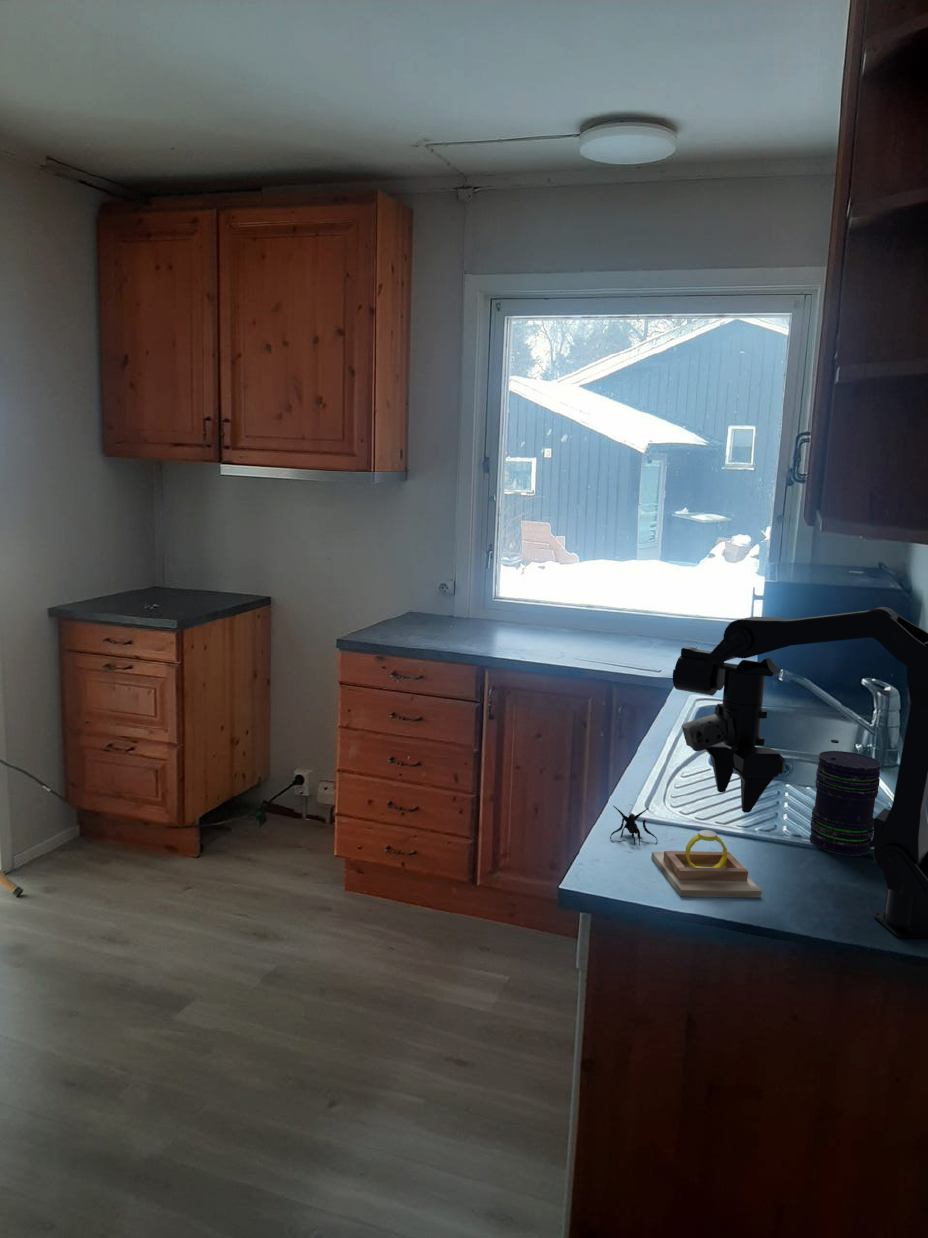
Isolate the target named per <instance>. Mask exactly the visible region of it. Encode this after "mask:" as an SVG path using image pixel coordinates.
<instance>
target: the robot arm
mask: <svg viewBox="0 0 928 1238" xmlns="http://www.w3.org/2000/svg"><path fill="white" fill-rule="evenodd" d="M868 638H870V639H871V638H873V639H874V640H875V641H877V642H878V643H879V644H880V645H881V646H882V647H883V648H885V650H886V651H887V652H888V653H890V655H892V656H893V658H895V659H896V660H897V661H899V662H900V663H902V664H903V665H904V666H906V687H907V694H908V700H909V701H908V702H909V711H908V718H907V723H906V727H905V734H904V737H903V738H904V740H903V743H902V744H903V745H902V749H901V750H902V751H901V756H900V761H899V765H898V772H897V779H896V783H895V789H894V795H893V801H892V805H891V807H890V809H888V808H886V807H885V808H883V809H882V810H881V811H880V812H879V813H878V814H877V815H876V816H875V817H873V818H874V825H873V826H874V827H873V829H874V831H873V837H872V841H871V842H870V844H869V845H868V846H869V847H871V848H873V850H872V856H873V860H874V862H875V863H876V864H877V866H878V868H879V869H880V870H881V871H883V875H884V879H885V883H886V893H885V901H884V908H883V911H884V912H878V911H877V912H875V911H874V912H873V917H874V918H875V919H876V920H877V921H879V923H881V924H882V925H883V926H884V927H885V928H887V929H888V930H889V931H890V932H891V933H892V934H893V935H895V937H897V938H923V939H924V938H927V939H928V816H927V807H926V806H927V800H928V631H926V630H925V629H923V628H921V627H919V626H917V625H916V624H913V623H912V622H910V621H909V620H907V619H906V618H904V617H902V616H901V615H899V614H898V613H897V612H896V611H895V610H893V609H892V608H890V607H885V606H881V607H876V608H874V609H871V610H870V609H869V610H862V611H853V612H845V613H836V614H829V615H820V616H819V615H818V616H813V617H812V616H811V617H803V618H782V617H775V616H774V617H771V616H749V617H745V618H740V619H736V620H732V621H731V622H729V623H728V625H727V626H726V628H725V629H724V632H723V638H722V640H721V641H720V642H719V643H718V644H717V645H716V646H715V648H713V650H712V651H710V650H703V649H698V648H696V647H692V646H686V647H682V648H681V650H680V655H679V657H678V658H677V660H676V664H675V666H674V669H673V671H672V685H673V687H674V689H675V690H678V691H684V692H688V693H693V694H699V695H705V696H715V694H716V693H717V692H718V691H722V690H723V694H722V703H717V704H716V706H715V707H714V713H713V714H710V715H706V716H702V717H700V718H697V719H693V720H690V721H688V722H685V723H682V725H681V729H682V733H683V736H684V737H683V738H684V740H685V743H686V746H687V747H690V748H691V749H692V750H693V752H702V751H704V750H705V752H707V754H708V755H709V757H710V760H711V764H712V770H713V774H714V780H715V785H716V790H717V792H718V793H726V790H727V788H728V786H729V784H730V781H731V779H732V777H733V774H734V772H735V773H736V774H737V776H738V777H739V778H740V797H741V798H740V799H741V800H740V801H741V803H740V805H741V811H742V813H744V814H745V813H749V814H750V813H751V812H752V810H753V808H754V807H755V805H757V803H758V801H759V799H760V798H761V796H762V794H763V793H764V792H765V791H766V789H767V788H768V786H769V785H770V784H771V782H772V781H773V780H774V778H778V777H779V775H781V774H783V773H785V767H786V766H785V764H786V759H785V758H784V757H783V756H782V755H781V754H780V753H779V752H778V751H776V750H774V749H772V748H771V747H769V746H765V738H764V737H762V736H760V733H761V732H760V731H761V722H762V719H767V718H768V711H766V710H765V709H763V702H764V701H763V700H764V691H765V690H764V689H765V681H766V677H771V678H773V677H774V676H777V675H779V674H781V670H780V668H779V667H778V666H777V665H775V663H774V662H773V660H772V658H771V657H768V658H764V659H762V661H755V660H749V659H748V658H752V657H755V656H759V655H763V654H766V653H769V652H772V651H773V652H774V651H776V650H779V649H783V648H787V647H791V646H800V645H809V644H820V643H829V642H838V641H848V640H858V639H860V640H861V639H868ZM736 658H737V659H741V660H740V661H739V662H738V664H737V663H729V662H727V661H732V660H734V659H736Z"/></svg>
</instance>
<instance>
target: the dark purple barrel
mask: <svg viewBox="0 0 928 1238" xmlns="http://www.w3.org/2000/svg"><path fill="white" fill-rule="evenodd" d="M830 742H831V743H832V744H839V743H840V741H839V739H830ZM881 767H882V763H881V761H879V759H876V758H874V757H871V756H868V755H865V754H860V753H857V752H849V751H844V750H843V751H841V750H827V751H822V752H820V753H819V755H818V763H817V768H816V774H815V776H816V778H815V781H814V782H815V788H816V793H815V802H814V806H813V808H812V810H811V818H810V835H809V842H810V844H812V845H813V846H814V847H817V848H819V849H820V850H823V851H826V852H828V853H832V854H836V855H842V856H843V855H844V856H851V857H852V856H854V857H855V856H856V857H857V856H866V855H868V854H870V852H871V850H872V849H871V848H872V847H869V846H868V845H869V844H870V842H871V841H872V838H873V834H874V826H873V825H874V818H875V817H874V811H875V805H876V804H875V803H876V802H875V801H876V798H877V797H878V795H879V786H880V782H881V779H880V775H881V773H880V770H881Z"/></svg>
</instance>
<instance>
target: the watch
mask: <svg viewBox="0 0 928 1238" xmlns="http://www.w3.org/2000/svg"><path fill="white" fill-rule="evenodd" d="M701 840H702V841H706V842H714V841H715V842H717V843H719V844H720V846H721V847H722V852H723V856H722V858H721V860H720V861H719V863H718V864H716V865H715V866H713V867H700V866H695V865H694V864H693V863H692V862H691V860H690V857H689V855H690V851H691V849H692V847H694V845H695V844H696V843H697V842H698V841H701ZM726 847H727V846H726V845H725V843H724V841H723V840H722V839H721V838H720V837H719V836H718V833H716V832H715V831H713V830H709V829H708V830H707V829H703V830H702V829H701V830H699V831H698V833H697V834H696V835H694V836H693V837H691V838H690V840H689V841H688V842H687V844H686V846H685V850H684V851H685V853H686V854H685V855H686V858H687V861H688V863H689V865H690V866H691V867H692V868H722V867H723V866H724V864H725V862H726V859H727V852H728V849H727V848H726Z"/></svg>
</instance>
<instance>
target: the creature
mask: <svg viewBox="0 0 928 1238" xmlns="http://www.w3.org/2000/svg"><path fill="white" fill-rule="evenodd" d="M612 807H613V808H614V809H615V810H616V811H617V812H619V814H620V816H621V817H622V819H621V824H620V826H619V828H617V829H616V830H615V831H613V832H612V833H611V834H610V835H609V839H610V841H611V842H612V843H615V842H614V841H613V839H612V836H613V835H614V834H615V833H618V832H620V831H621V834H620V838H621V839H622V840H620V841H618V843H621V842H623V841H626V842H627V840H625V839H623V838H622V837H623V835H624V831H625V829H627V831H628V833H629V834H631V839H633V843H634V844H633V845H634V846H636V839H635V835H637V836H636V837H637V839H638V846H639V847H640V845H641V844H640V843H641V842H642V843H646V844H649V845H650V843H649V842H647V841H643V840H644V838H645V837H643V836H641V831H640V828H638V825H637V823H636V821H637V819H638V818H640V816H642V814H644V813H645V812H646V811H647V810H648V809H649V807H647V808H645V809H644V810H643V811H642V812H639V813H638V814H636V815H634V813H631V814H629V815H628V816H627V815H625V814H624V813H623V812H622V811H621V810H619V808H617V807H616V806H615V805H612ZM646 822H647V820H646V819H643V820H642V828H643V830H644V832H646V833H647V834H649V835H651V836H652V837H654V838H655V840H656V843H655V844H654V846H655V845H657V844H658V838H657V837H656V836H655V835H654V834H653V833H652V832H650V831H649V830H648V829H647V826H646ZM624 823H625V824H624ZM641 838H642V840H641Z"/></svg>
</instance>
